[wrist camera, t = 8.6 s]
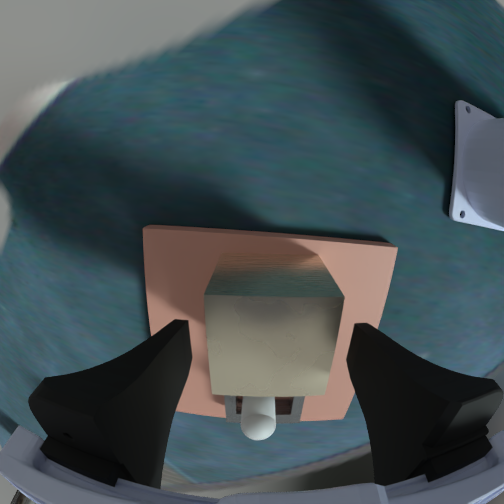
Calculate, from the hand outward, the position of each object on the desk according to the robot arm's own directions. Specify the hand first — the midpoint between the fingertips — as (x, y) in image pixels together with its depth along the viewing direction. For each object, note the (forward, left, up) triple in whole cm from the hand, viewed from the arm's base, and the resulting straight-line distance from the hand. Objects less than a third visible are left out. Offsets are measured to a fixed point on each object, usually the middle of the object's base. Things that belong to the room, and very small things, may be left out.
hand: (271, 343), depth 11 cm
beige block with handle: (0, +3, -4) cm, 5 cm away
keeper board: (0, +3, -5) cm, 6 cm away
